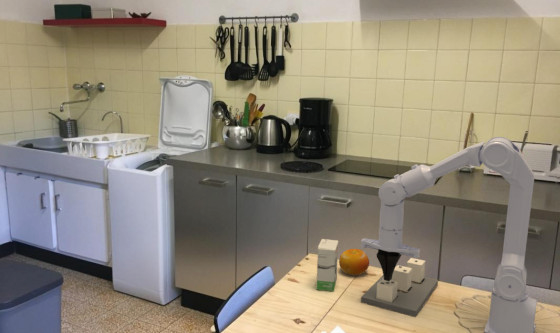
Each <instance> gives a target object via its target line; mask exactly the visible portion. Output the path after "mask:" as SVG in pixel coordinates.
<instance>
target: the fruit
mask: <svg viewBox="0 0 560 333" xmlns="http://www.w3.org/2000/svg"><path fill="white" fill-rule="evenodd" d="M338 260H339V261H338V263H339V264H338V265H339V267H340V270H342V271H343V272H344V273H345V274H347V275H350V276H360V275H362V274H365V273H366V272H367V271H368V269H369V266H370V259H369V257H368V255H367V254H366V252H365V251H364V250H362V249H359V248H349V249H346V250H345V251H343V252H342V253H341V255H340V257H339V258H338Z"/></svg>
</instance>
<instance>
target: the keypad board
mask: <svg viewBox="0 0 560 333" xmlns="http://www.w3.org/2000/svg"><path fill="white" fill-rule="evenodd" d="M382 279H384V276H383V275H381V276H380V278H379V279H377V280H376V281H375V282H374V284H372V285H371V286H370V287H369V288H368V290H366V291H365V292H364V294H362V295H361V297H360V303H361V304H366V305H370V306H374V307H377V308H381V309H385V310H387V311H391V312H396V313H399V314H403V315H407V316H410V317H414V318H417V316H418V315H419V313H420V312H421V310H422V309H423V307H424V306H425V305H426V303H427V301H428V300H429V298H430V297H431V295H432V294H433V293H434V292H435V289H436V288H437V286H438V284H439V279H436V278H432V277H427V276H424V279H423V280H422V281H421V282H420V283H418V282H414V281H411V287H410V288H409V289H408V290H407V291H406V292H405V291H401V290H397V298H396V299H395V301H394V302H393V303H391V302H387V301H384V300H380V299H376V296H377V284H378V283H379V282H380V281H381V280H382ZM391 281H392V279H391Z"/></svg>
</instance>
